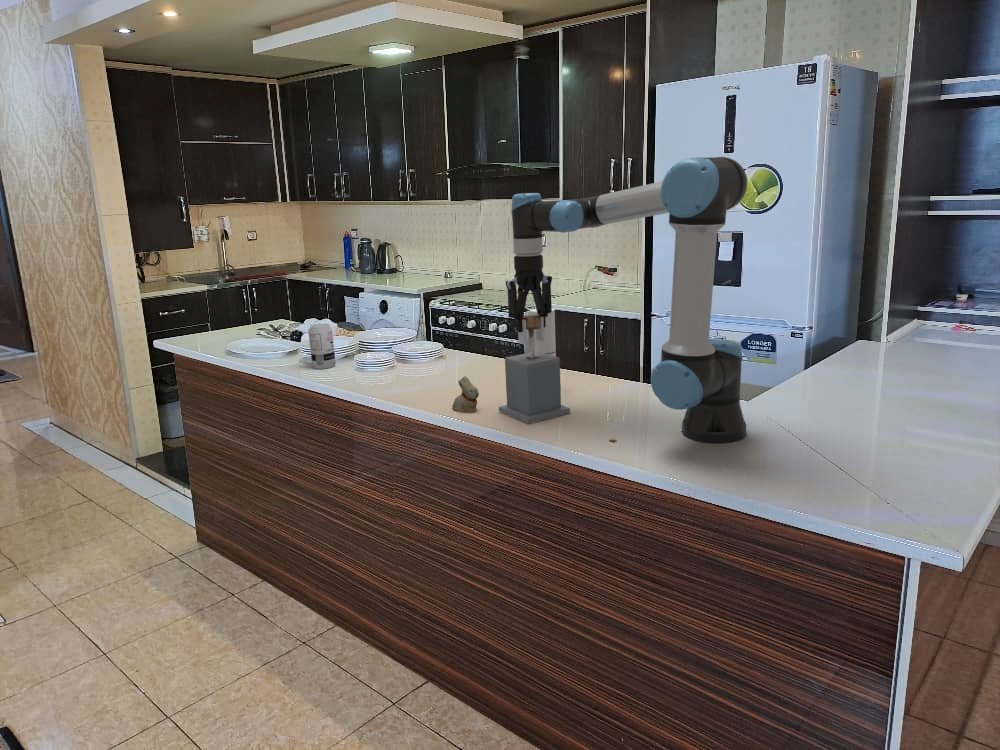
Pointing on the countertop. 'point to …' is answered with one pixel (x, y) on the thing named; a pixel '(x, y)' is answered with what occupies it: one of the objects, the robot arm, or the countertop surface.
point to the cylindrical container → (546, 335)
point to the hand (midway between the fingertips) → (531, 341)
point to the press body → (533, 388)
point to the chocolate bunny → (466, 397)
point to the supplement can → (321, 346)
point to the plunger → (531, 332)
